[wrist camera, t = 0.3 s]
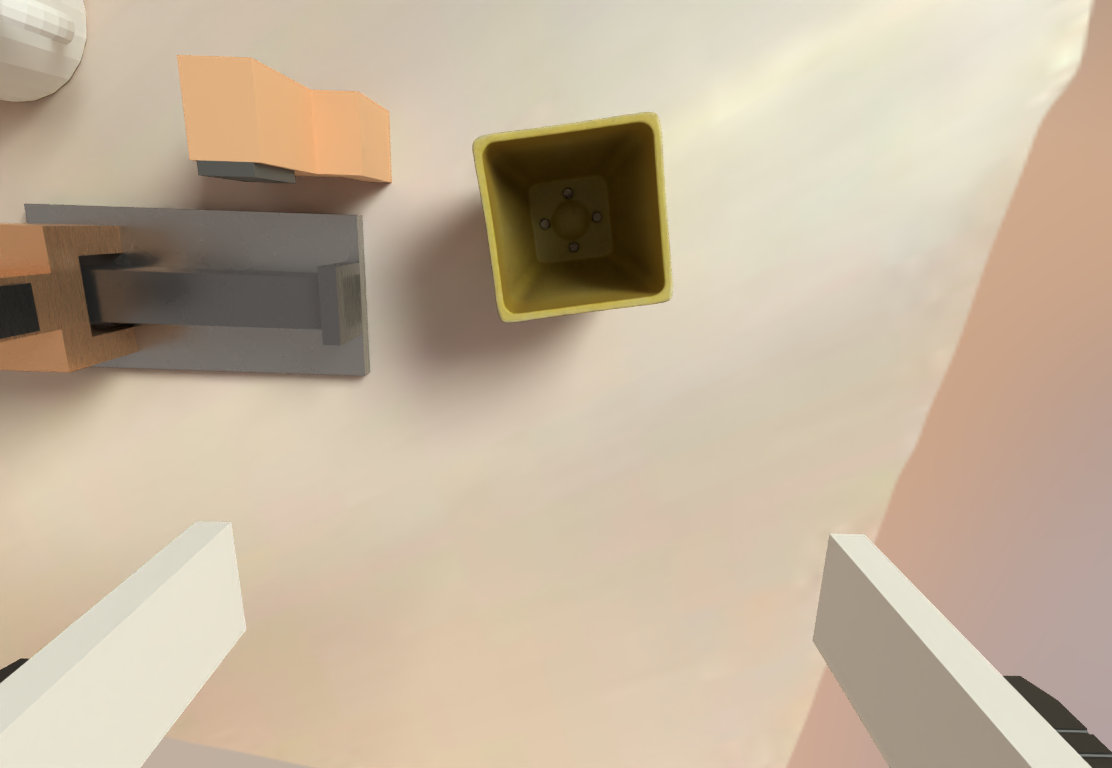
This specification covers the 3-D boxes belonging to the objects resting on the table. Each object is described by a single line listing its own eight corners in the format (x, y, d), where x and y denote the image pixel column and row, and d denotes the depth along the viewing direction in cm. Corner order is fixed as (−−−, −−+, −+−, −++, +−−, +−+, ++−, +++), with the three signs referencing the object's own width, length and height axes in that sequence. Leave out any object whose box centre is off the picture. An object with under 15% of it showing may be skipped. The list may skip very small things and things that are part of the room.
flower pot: (648, 284, 38) (675, 302, 29) (512, 302, 38) (498, 325, 29) (635, 137, 35) (660, 109, 27) (491, 157, 36) (469, 135, 27)
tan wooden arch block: (388, 111, 35) (310, 59, 24) (392, 192, 36) (318, 179, 25) (257, 106, 35) (117, 52, 24) (264, 188, 36) (135, 173, 25)
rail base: (38, 204, 37) (-218, 194, 25) (362, 215, 37) (265, 211, 25) (67, 361, 39) (-151, 423, 27) (370, 372, 39) (286, 437, 27)
